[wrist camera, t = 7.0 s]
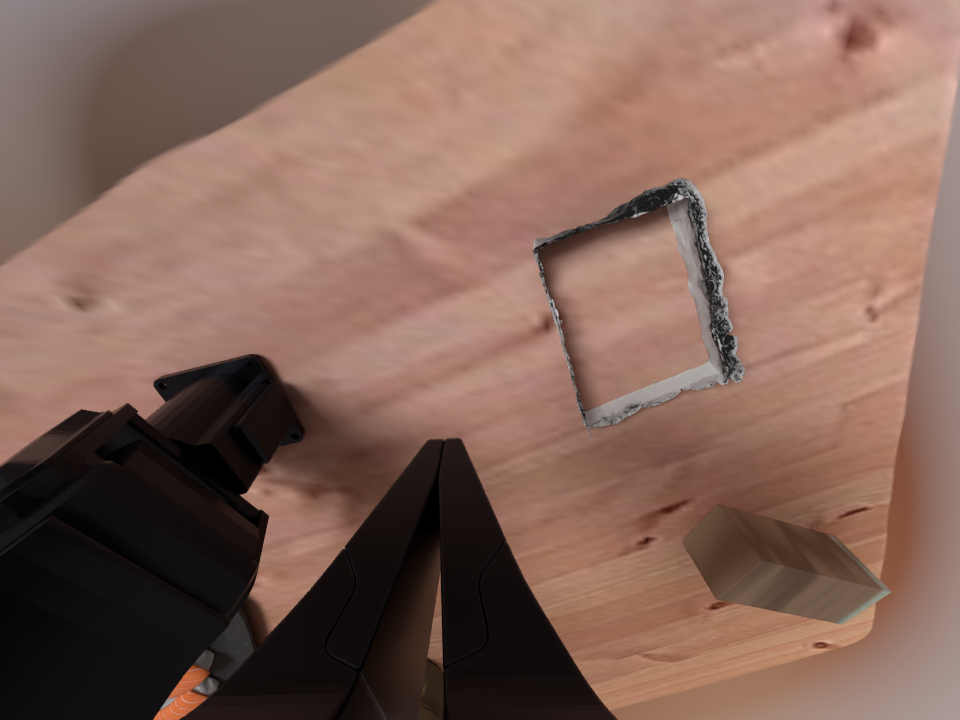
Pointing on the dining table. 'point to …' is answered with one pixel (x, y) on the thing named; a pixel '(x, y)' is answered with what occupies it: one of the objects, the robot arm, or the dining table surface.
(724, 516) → the grey-green metal block
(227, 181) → the dining table surface
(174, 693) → the sushi plate
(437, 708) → the wooden container
